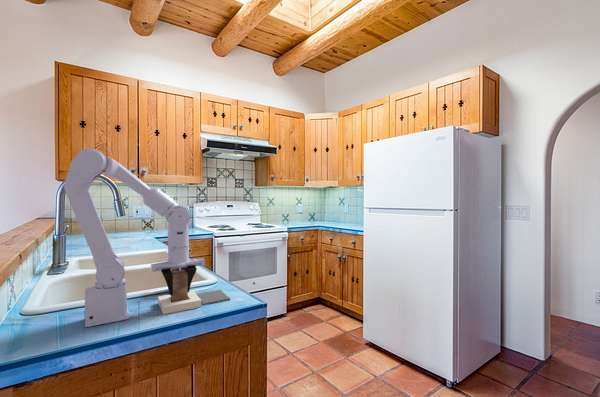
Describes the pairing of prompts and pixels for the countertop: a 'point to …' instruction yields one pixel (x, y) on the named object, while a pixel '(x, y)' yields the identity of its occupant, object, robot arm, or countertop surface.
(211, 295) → the mat
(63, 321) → the countertop surface
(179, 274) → the peg
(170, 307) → the holder
